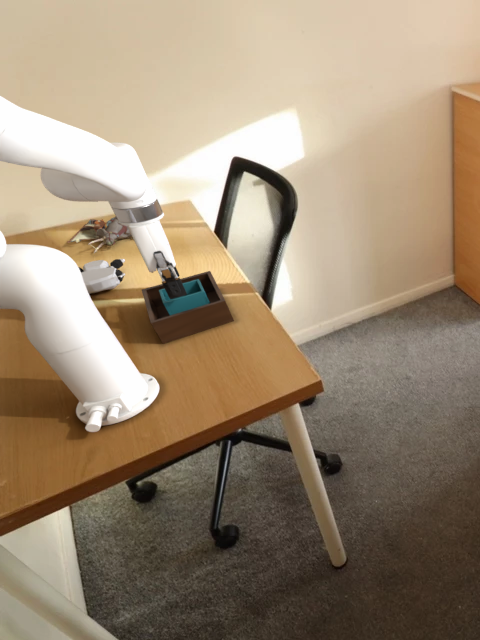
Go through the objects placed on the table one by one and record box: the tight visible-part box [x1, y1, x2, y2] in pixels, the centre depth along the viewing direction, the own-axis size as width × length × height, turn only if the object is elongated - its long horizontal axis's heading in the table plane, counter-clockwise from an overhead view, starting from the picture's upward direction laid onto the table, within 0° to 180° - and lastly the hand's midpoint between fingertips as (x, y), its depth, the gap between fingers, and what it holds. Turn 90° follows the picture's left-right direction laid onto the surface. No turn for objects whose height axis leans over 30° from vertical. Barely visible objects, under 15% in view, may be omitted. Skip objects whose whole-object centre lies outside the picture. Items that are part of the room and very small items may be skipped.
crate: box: [141, 270, 235, 345], centre depth 106 cm, size 16×14×6 cm
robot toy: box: [78, 258, 126, 295], centre depth 116 cm, size 12×4×15 cm
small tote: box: [159, 279, 210, 315], centre depth 106 cm, size 8×6×6 cm
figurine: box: [67, 216, 133, 254], centre depth 134 cm, size 20×6×17 cm
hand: (175, 287), depth 102 cm, fingers open, 9 cm apart
